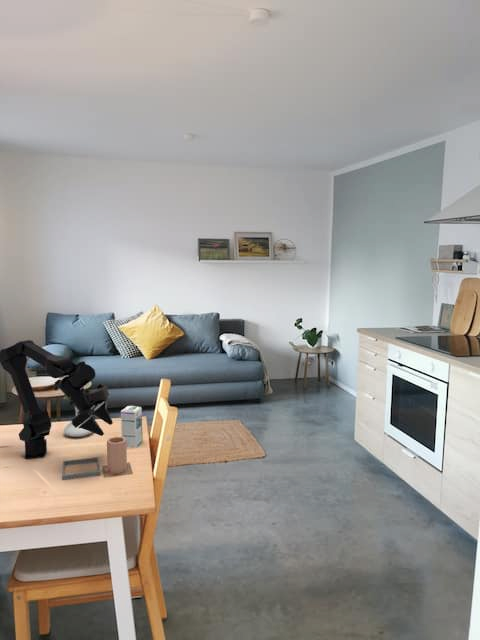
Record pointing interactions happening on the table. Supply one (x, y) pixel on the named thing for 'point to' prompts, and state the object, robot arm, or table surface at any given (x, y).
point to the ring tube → (116, 455)
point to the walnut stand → (127, 472)
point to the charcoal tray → (81, 475)
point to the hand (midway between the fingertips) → (107, 429)
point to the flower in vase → (73, 431)
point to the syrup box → (132, 425)
